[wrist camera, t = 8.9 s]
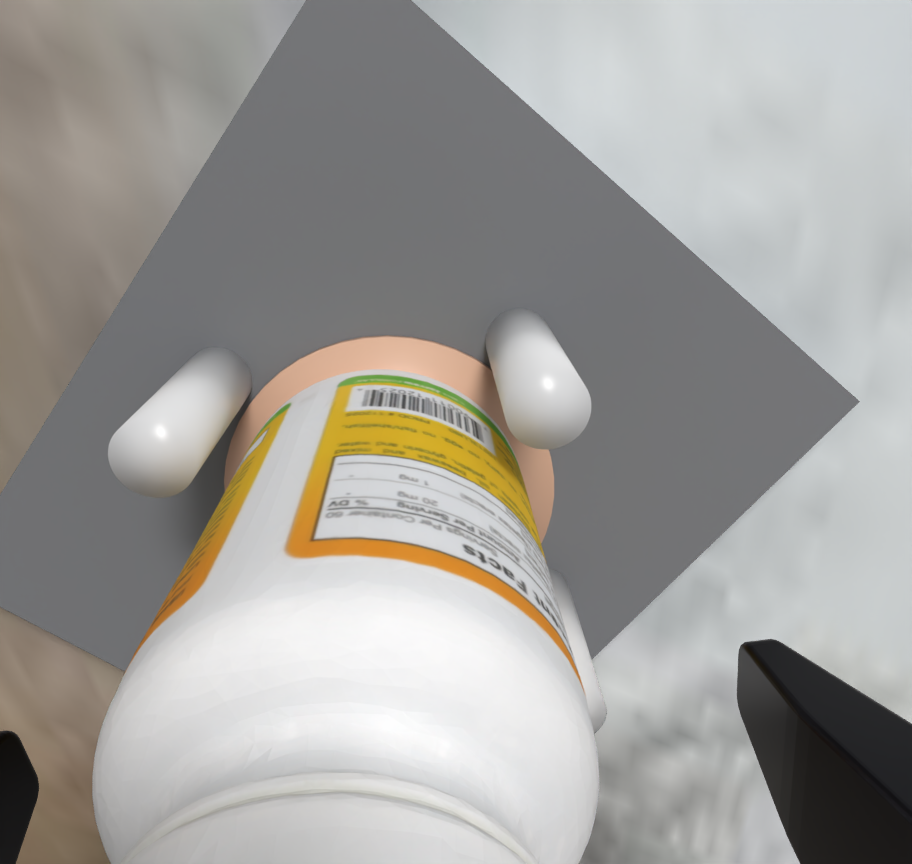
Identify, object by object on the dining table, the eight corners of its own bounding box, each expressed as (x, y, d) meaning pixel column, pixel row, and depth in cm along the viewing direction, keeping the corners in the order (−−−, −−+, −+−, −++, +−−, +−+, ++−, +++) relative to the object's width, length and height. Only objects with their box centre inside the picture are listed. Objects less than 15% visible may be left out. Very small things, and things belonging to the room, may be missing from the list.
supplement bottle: (321, 642, 15) (174, 1359, 6) (191, 427, 13) (-285, 1032, 4) (559, 556, 15) (765, 1215, 6) (461, 317, 13) (545, 760, 4)
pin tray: (420, 790, 19) (418, 977, 15) (-25, 553, 16) (-188, 706, 11) (833, 384, 15) (990, 484, 11) (350, -46, 12) (307, -142, 7)
